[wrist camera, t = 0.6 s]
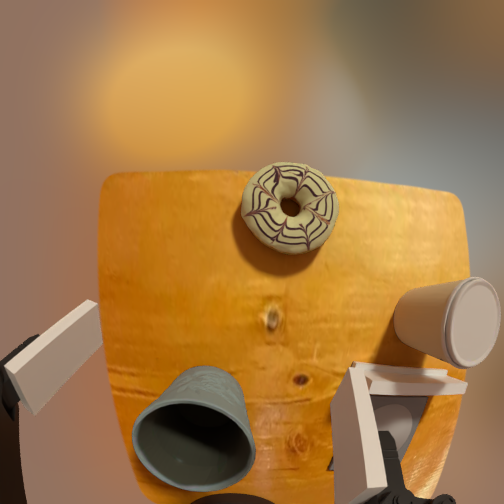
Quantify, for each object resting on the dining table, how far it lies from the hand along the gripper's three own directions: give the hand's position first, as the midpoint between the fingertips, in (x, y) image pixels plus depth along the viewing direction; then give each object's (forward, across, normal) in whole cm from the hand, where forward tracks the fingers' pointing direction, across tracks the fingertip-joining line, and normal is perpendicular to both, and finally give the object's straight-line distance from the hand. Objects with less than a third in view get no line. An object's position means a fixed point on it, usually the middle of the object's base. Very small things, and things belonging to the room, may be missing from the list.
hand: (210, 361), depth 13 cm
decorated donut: (+23, -2, -4) cm, 23 cm away
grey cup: (+12, +2, +17) cm, 21 cm away
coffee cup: (+20, -22, +5) cm, 30 cm away
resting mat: (+13, -22, +20) cm, 32 cm away
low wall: (+16, -22, +12) cm, 30 cm away
